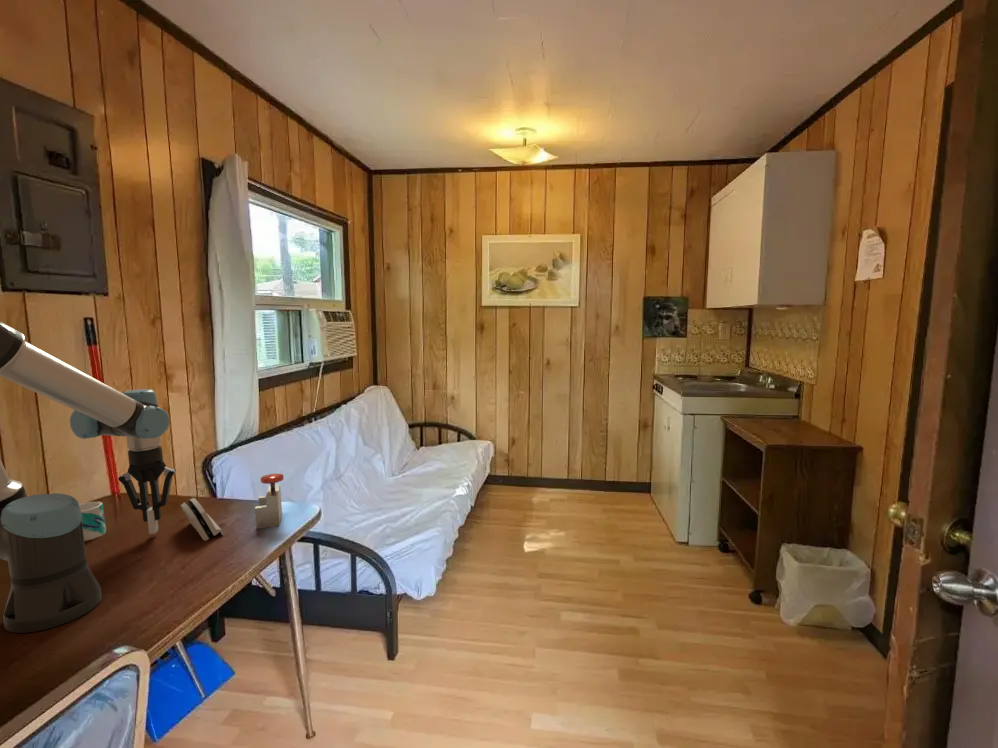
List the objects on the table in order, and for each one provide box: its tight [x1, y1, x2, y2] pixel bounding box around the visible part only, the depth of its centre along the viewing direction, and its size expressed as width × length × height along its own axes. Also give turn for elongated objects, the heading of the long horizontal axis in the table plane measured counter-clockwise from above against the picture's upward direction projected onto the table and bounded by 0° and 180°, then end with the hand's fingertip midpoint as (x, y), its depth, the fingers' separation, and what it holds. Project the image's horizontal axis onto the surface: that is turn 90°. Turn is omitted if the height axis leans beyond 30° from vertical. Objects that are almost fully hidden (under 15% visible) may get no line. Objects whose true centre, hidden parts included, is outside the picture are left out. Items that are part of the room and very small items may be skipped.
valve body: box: [254, 473, 284, 530], centre depth 148 cm, size 10×8×13 cm
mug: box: [79, 501, 107, 542], centre depth 142 cm, size 8×12×8 cm
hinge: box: [180, 497, 225, 542], centre depth 143 cm, size 17×5×10 cm, turn 42°
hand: (153, 531), depth 139 cm, fingers closed
